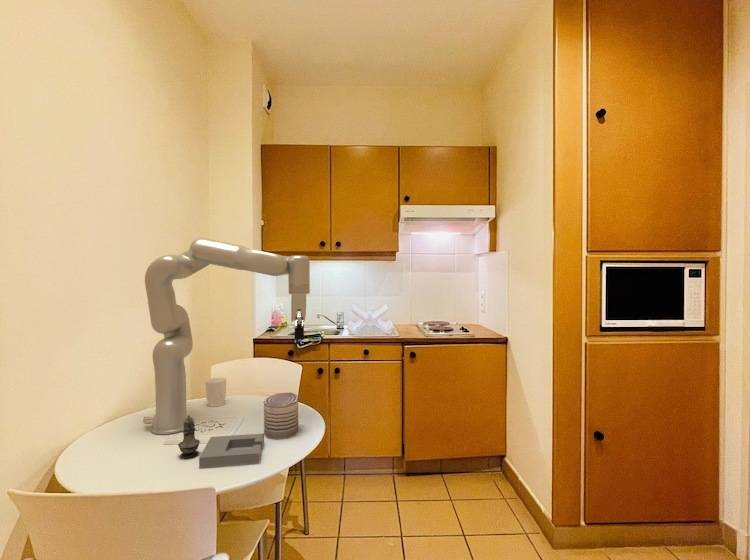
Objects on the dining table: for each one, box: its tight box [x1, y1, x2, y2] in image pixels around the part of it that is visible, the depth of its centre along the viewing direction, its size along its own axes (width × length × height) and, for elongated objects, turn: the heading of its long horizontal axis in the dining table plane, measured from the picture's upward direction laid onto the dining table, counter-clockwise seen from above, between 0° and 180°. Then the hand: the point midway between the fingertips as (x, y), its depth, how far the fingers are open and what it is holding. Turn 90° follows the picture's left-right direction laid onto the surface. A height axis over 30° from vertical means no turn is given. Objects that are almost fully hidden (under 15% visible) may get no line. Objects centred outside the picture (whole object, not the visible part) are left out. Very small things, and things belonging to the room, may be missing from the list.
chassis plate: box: [198, 432, 265, 469], centre depth 120 cm, size 16×14×3 cm
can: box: [262, 392, 300, 441], centre depth 136 cm, size 11×11×12 cm
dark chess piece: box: [177, 414, 201, 460], centre depth 119 cm, size 6×6×12 cm
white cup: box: [205, 376, 227, 408], centre depth 165 cm, size 8×8×10 cm
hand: (299, 336), depth 146 cm, fingers open, 9 cm apart
